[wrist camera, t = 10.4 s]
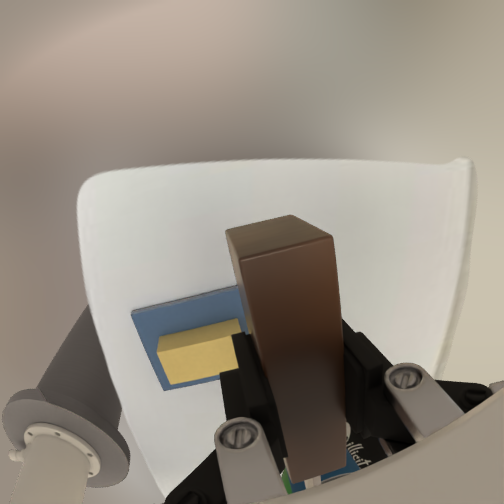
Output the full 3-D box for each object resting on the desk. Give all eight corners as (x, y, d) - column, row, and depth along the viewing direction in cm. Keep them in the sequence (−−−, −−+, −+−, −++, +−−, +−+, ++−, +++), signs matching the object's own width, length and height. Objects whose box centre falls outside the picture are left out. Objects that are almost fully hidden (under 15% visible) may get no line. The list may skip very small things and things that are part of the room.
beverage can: (344, 398, 37) (384, 461, 26) (380, 398, 39) (423, 452, 28) (324, 431, 39) (356, 493, 27) (360, 429, 40) (395, 484, 29)
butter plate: (164, 386, 32) (163, 391, 31) (131, 310, 29) (130, 314, 28) (318, 347, 34) (321, 351, 33) (308, 266, 31) (310, 269, 30)
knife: (292, 213, 11) (334, 235, 7) (326, 492, 16) (343, 529, 13) (224, 229, 11) (237, 259, 7) (293, 502, 16) (307, 541, 13)
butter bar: (171, 367, 31) (170, 385, 28) (159, 336, 29) (156, 352, 27) (245, 350, 32) (250, 366, 29) (237, 317, 30) (241, 332, 28)
